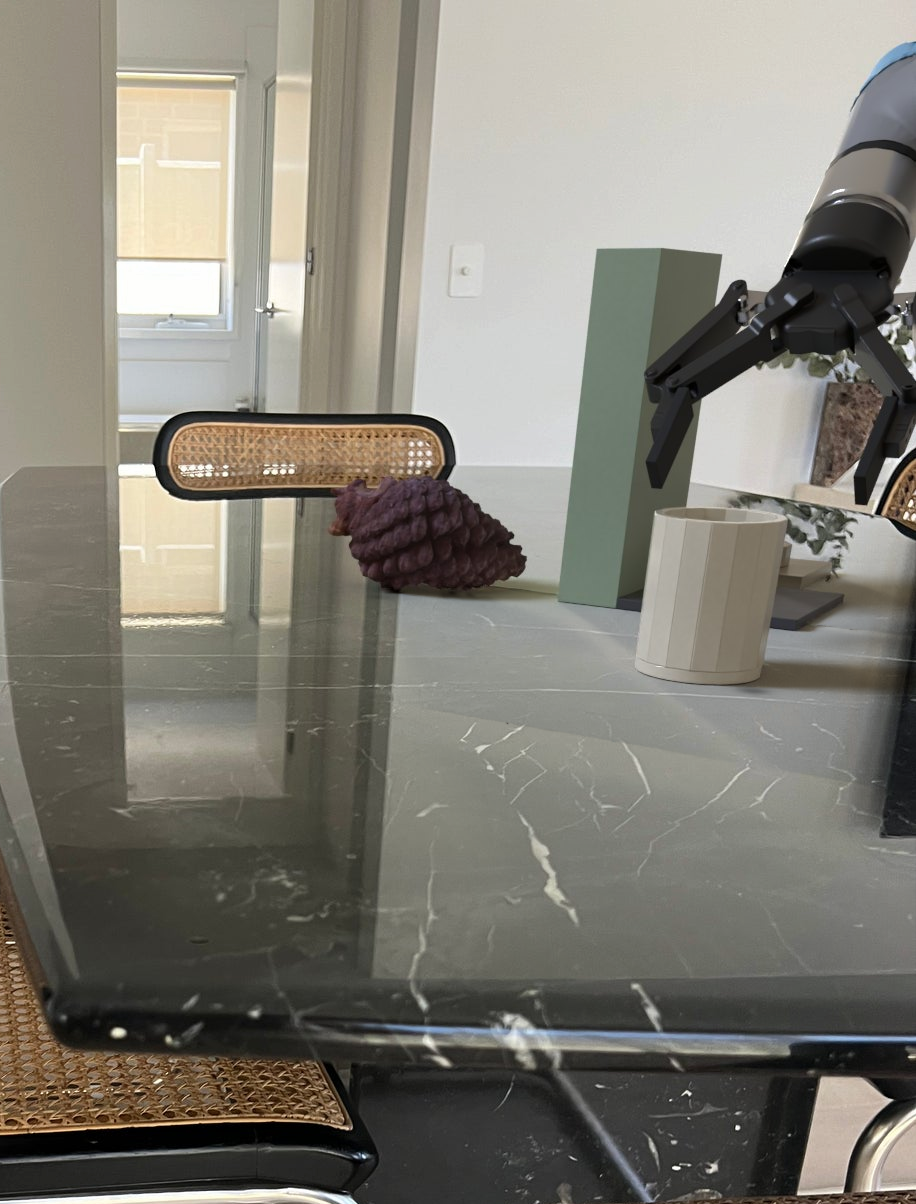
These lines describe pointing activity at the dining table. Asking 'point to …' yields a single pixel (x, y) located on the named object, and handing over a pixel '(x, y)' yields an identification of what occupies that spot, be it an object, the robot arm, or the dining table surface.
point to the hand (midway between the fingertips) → (752, 483)
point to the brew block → (800, 570)
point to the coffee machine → (638, 429)
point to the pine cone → (424, 535)
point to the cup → (709, 594)
